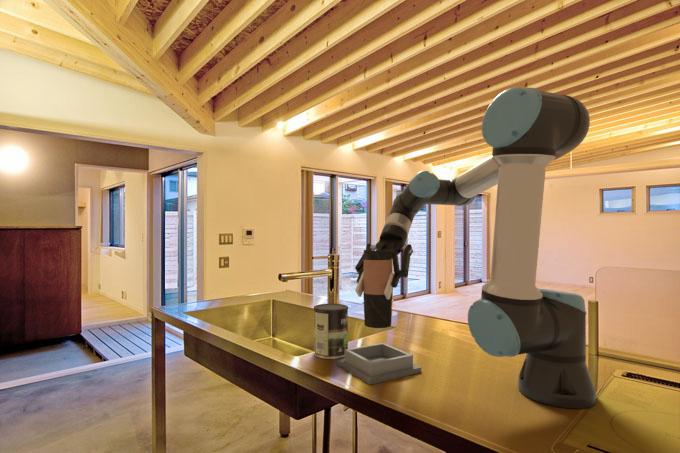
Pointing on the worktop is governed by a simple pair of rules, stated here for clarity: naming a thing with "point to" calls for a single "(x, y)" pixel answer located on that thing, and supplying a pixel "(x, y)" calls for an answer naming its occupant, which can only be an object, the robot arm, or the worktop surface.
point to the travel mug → (377, 288)
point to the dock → (378, 363)
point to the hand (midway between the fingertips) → (372, 294)
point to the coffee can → (330, 330)
